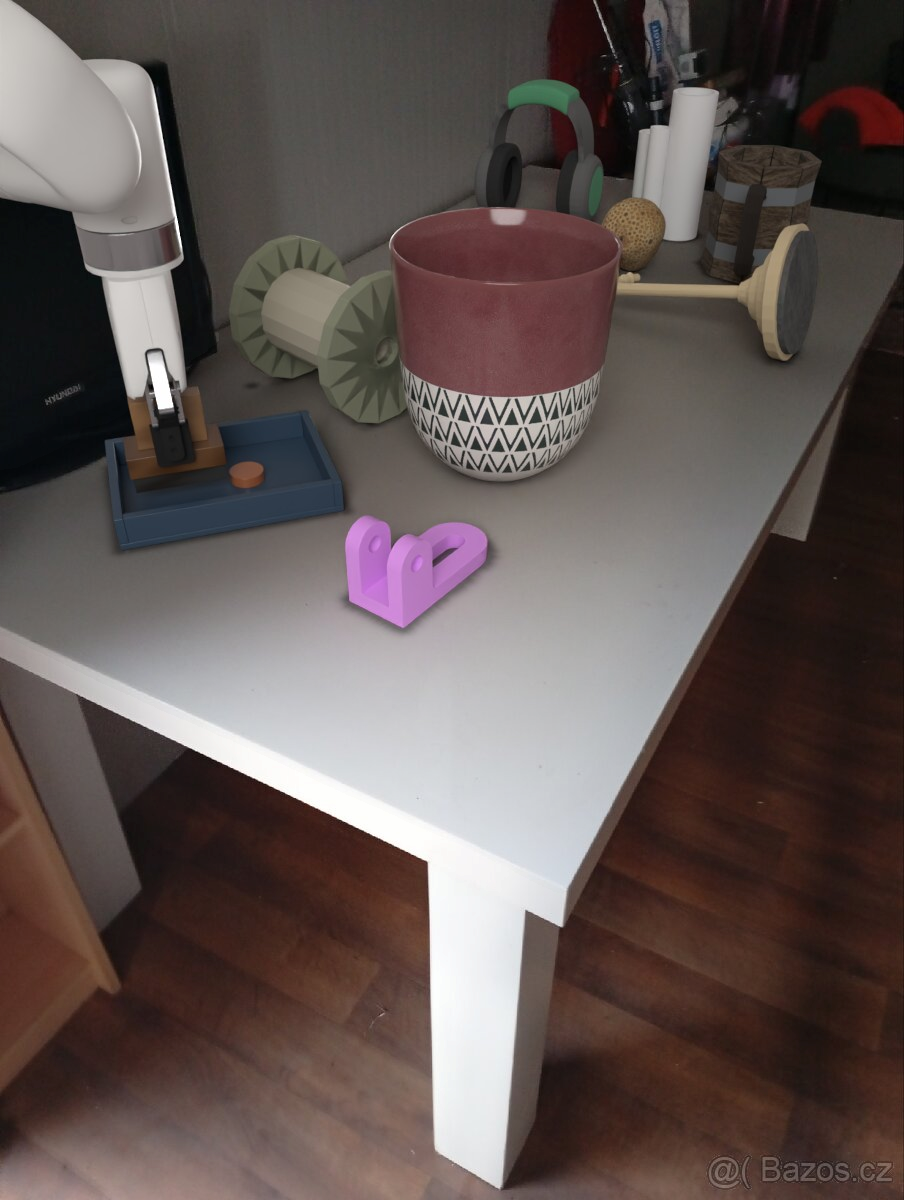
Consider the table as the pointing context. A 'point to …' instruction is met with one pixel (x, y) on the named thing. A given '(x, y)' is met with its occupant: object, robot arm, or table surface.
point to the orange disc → (246, 474)
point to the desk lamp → (762, 291)
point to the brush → (155, 478)
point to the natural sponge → (636, 230)
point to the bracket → (408, 566)
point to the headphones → (504, 162)
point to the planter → (503, 333)
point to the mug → (755, 206)
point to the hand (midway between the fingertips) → (173, 447)
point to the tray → (231, 485)
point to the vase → (678, 161)
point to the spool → (320, 326)
